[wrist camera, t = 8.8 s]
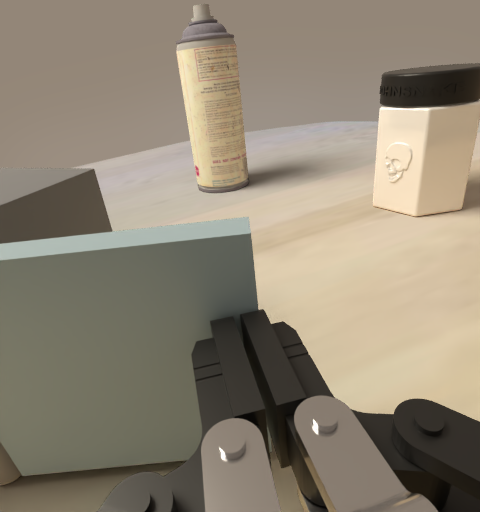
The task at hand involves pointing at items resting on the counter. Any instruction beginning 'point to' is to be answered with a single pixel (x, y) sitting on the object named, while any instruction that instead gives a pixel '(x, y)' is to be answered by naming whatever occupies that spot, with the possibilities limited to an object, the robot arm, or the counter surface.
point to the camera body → (50, 204)
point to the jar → (426, 138)
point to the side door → (112, 342)
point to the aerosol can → (213, 103)
